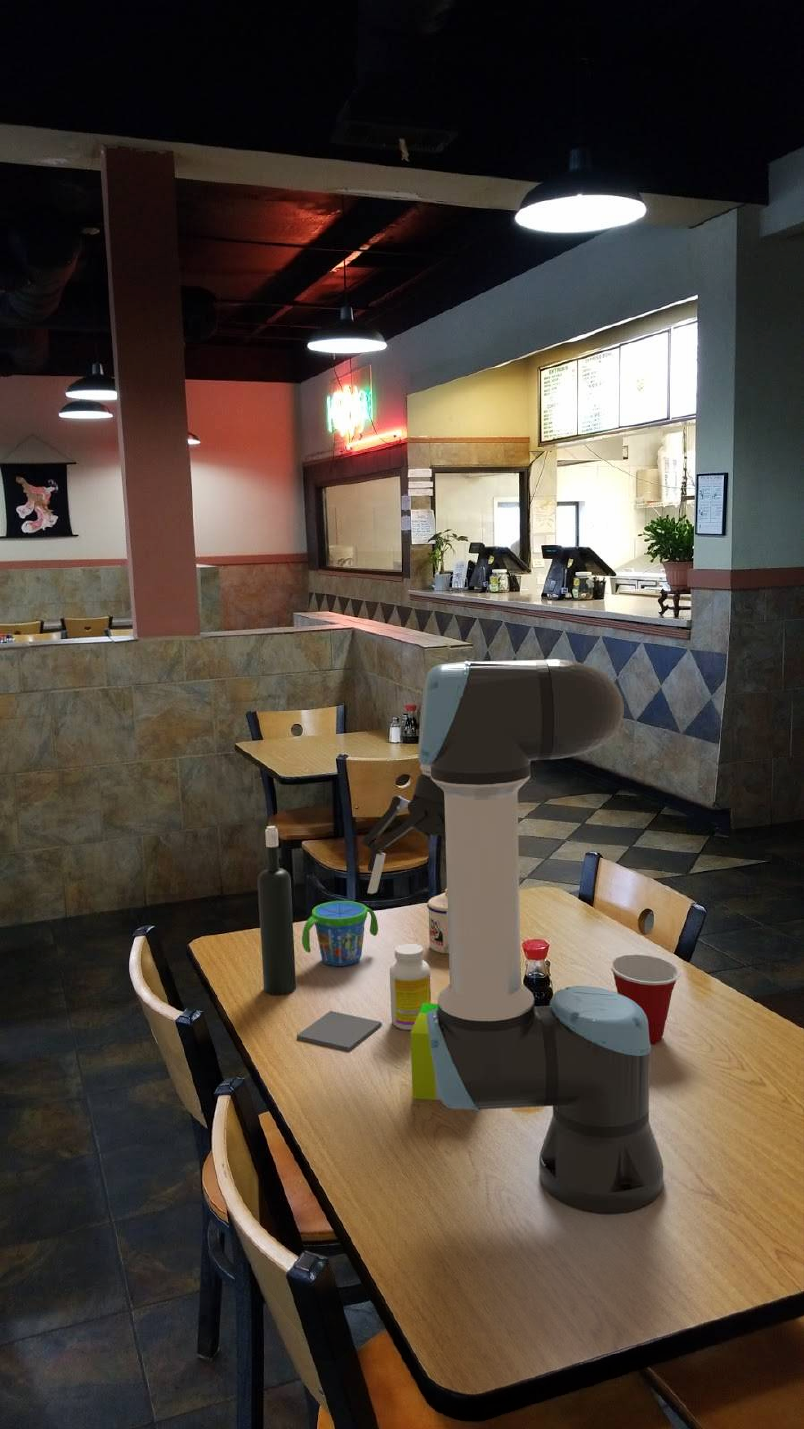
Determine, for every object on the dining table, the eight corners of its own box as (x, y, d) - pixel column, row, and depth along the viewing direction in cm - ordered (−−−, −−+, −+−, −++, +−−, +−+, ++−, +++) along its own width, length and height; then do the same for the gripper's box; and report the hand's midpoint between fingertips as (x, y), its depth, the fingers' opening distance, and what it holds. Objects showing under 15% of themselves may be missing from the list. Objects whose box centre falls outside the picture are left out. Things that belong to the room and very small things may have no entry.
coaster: (349, 1051, 169) (349, 1047, 169) (296, 1038, 174) (296, 1035, 174) (381, 1025, 178) (381, 1021, 177) (330, 1014, 182) (330, 1010, 182)
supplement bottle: (438, 1027, 176) (435, 952, 174) (400, 1035, 174) (397, 959, 172) (422, 1011, 182) (419, 938, 180) (385, 1018, 180) (382, 945, 178)
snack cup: (366, 943, 214) (364, 894, 212) (390, 960, 205) (388, 909, 203) (293, 959, 207) (290, 908, 205) (314, 978, 198) (311, 925, 196)
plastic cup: (677, 1057, 163) (677, 982, 161) (605, 1048, 167) (605, 975, 165) (682, 1026, 173) (683, 955, 172) (615, 1018, 177) (614, 949, 175)
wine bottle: (302, 986, 194) (294, 824, 189) (282, 998, 190) (273, 832, 185) (278, 980, 197) (269, 821, 193) (257, 991, 193) (247, 828, 188)
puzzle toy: (482, 1103, 152) (480, 1037, 151) (412, 1098, 154) (410, 1032, 153) (490, 1069, 162) (489, 1006, 160) (425, 1065, 164) (423, 1003, 162)
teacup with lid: (422, 941, 214) (420, 884, 212) (465, 935, 216) (464, 879, 215) (441, 963, 203) (440, 903, 201) (487, 956, 205) (485, 897, 203)
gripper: (520, 796, 174) (488, 923, 174) (378, 758, 181) (348, 880, 182) (510, 797, 167) (478, 929, 167) (363, 758, 174) (332, 884, 175)
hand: (410, 904), depth 175 cm, fingers open, 13 cm apart
